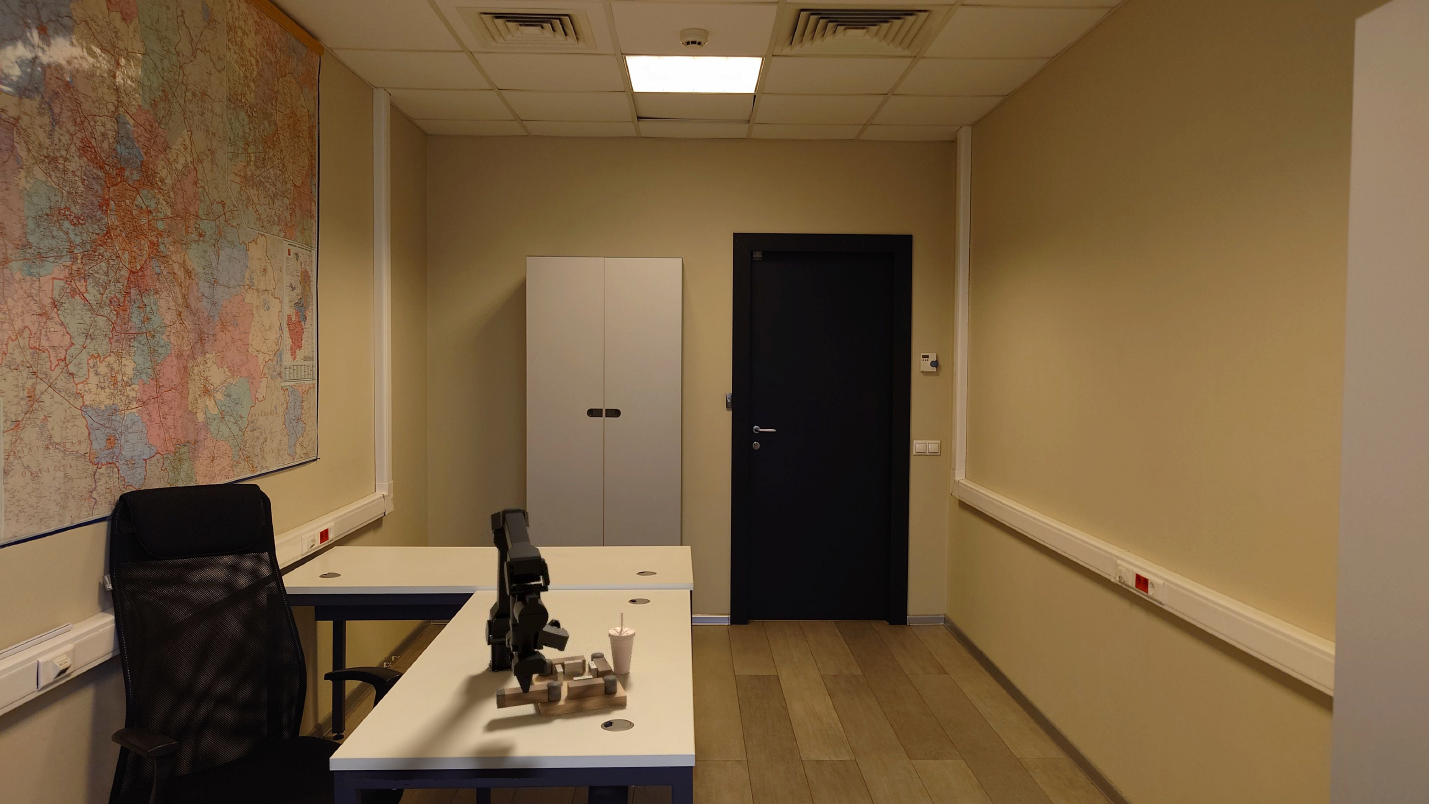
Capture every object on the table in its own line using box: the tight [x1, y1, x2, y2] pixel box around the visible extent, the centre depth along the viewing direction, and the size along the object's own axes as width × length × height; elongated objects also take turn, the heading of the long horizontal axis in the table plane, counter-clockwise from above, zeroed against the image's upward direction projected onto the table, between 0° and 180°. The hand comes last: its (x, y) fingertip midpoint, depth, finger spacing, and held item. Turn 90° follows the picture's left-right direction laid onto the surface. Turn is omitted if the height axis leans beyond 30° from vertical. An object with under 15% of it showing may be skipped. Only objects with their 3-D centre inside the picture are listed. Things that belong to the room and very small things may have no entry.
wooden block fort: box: [531, 651, 628, 718], centre depth 175 cm, size 18×20×5 cm
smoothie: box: [607, 611, 636, 675], centre depth 186 cm, size 6×6×14 cm
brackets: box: [555, 660, 597, 685], centre depth 175 cm, size 9×11×3 cm
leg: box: [495, 681, 561, 710], centre depth 164 cm, size 13×3×3 cm, turn 109°
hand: (525, 692), depth 158 cm, fingers closed
